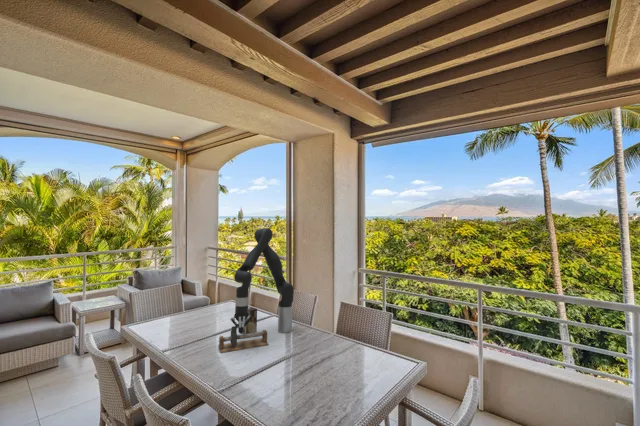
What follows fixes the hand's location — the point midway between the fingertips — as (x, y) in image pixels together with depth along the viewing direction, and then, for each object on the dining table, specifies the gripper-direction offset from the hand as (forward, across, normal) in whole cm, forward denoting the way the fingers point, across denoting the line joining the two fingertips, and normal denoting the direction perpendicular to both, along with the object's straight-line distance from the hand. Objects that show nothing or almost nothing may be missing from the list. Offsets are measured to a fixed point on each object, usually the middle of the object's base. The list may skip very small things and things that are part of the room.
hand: (240, 333), depth 171 cm
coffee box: (+8, -9, -19) cm, 23 cm away
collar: (+6, +4, 0) cm, 7 cm away
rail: (+8, -2, 0) cm, 8 cm away
